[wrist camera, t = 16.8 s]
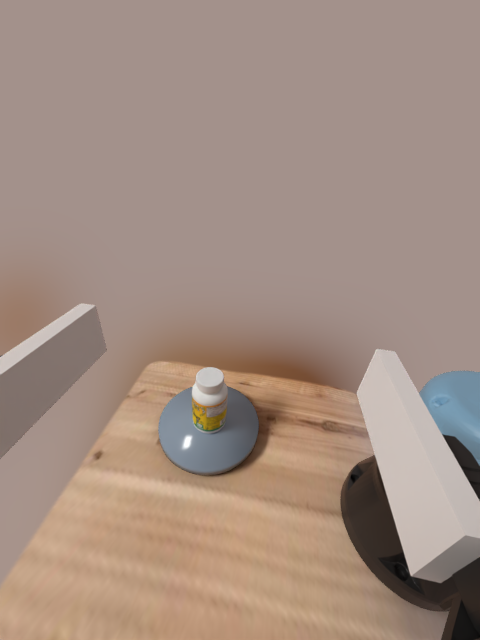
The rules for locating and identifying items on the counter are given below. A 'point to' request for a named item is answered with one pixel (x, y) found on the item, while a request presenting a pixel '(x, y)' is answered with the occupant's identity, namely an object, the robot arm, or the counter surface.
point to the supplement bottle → (209, 400)
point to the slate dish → (208, 435)
